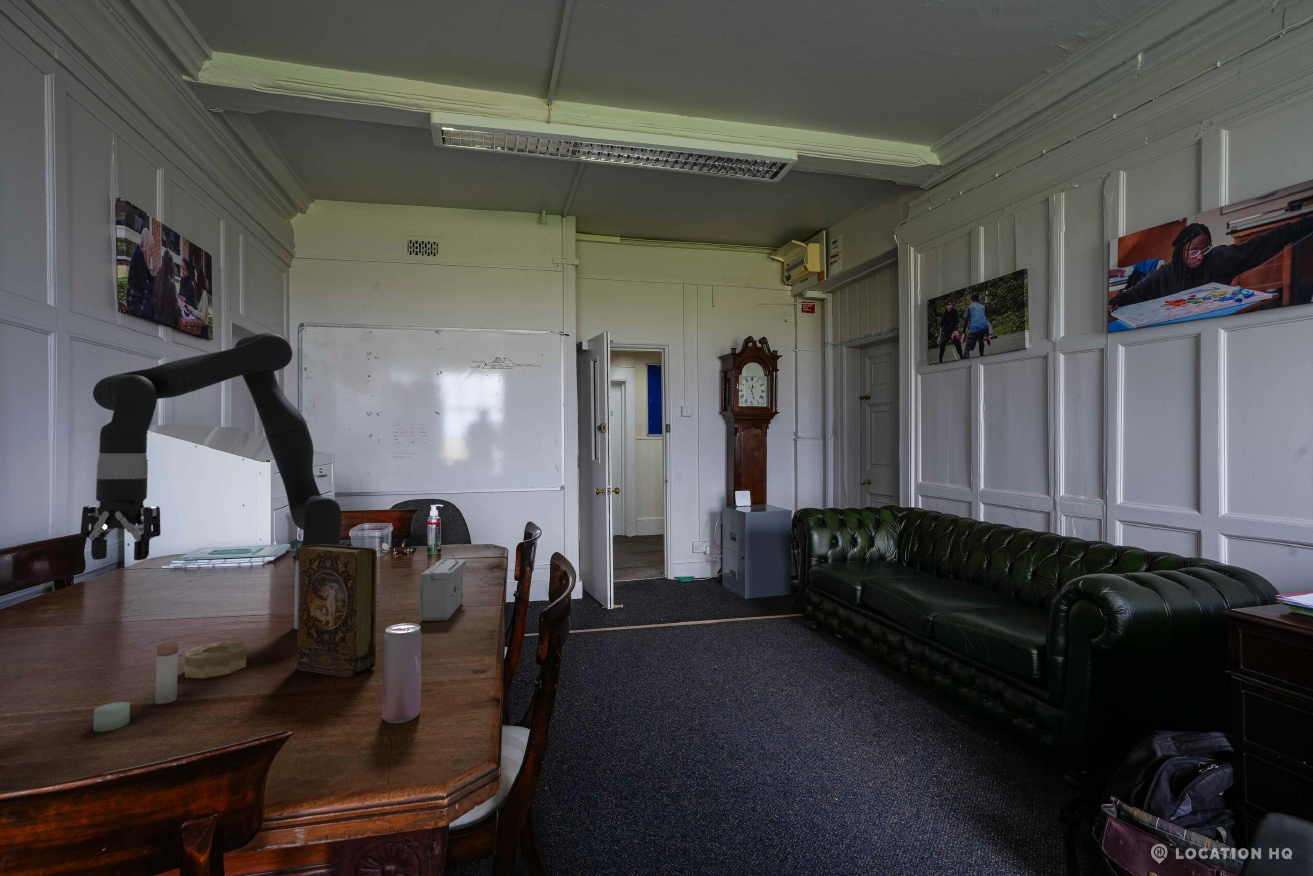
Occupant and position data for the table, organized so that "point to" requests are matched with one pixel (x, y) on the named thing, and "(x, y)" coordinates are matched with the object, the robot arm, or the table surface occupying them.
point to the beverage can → (401, 673)
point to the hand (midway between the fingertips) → (119, 559)
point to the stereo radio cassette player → (441, 589)
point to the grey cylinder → (166, 672)
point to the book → (337, 609)
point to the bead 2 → (215, 659)
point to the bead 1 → (111, 716)
